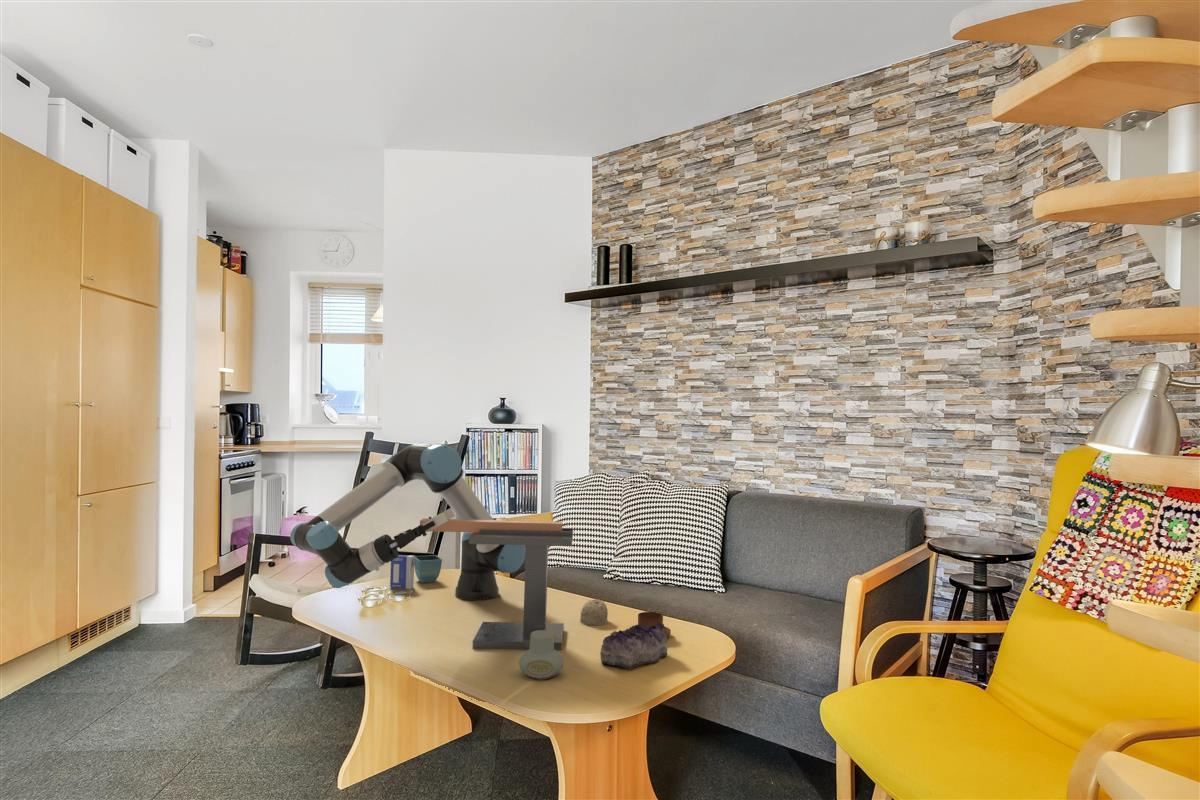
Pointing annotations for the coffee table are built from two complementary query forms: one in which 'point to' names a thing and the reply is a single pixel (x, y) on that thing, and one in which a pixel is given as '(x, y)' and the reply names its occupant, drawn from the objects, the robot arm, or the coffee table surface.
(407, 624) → the coffee table surface
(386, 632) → the coffee table surface
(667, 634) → the cup and saucer
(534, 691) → the coffee table surface
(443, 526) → the block
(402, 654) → the coffee table surface
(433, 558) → the flower pot
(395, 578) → the walkman
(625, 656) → the geode
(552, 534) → the stand
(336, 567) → the robot arm
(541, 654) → the air freshener
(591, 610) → the beige rough dome
